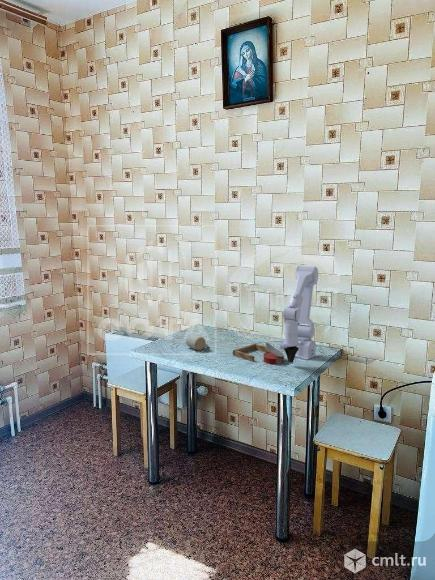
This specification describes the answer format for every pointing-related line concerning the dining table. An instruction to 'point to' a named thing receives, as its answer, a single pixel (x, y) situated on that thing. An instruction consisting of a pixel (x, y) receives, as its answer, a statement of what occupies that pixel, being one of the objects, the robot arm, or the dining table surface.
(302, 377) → the dining table surface
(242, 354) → the brown wooden u-shaped piece
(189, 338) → the ceramic mug
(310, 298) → the robot arm
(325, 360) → the dining table surface
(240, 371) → the dining table surface
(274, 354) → the canned food
